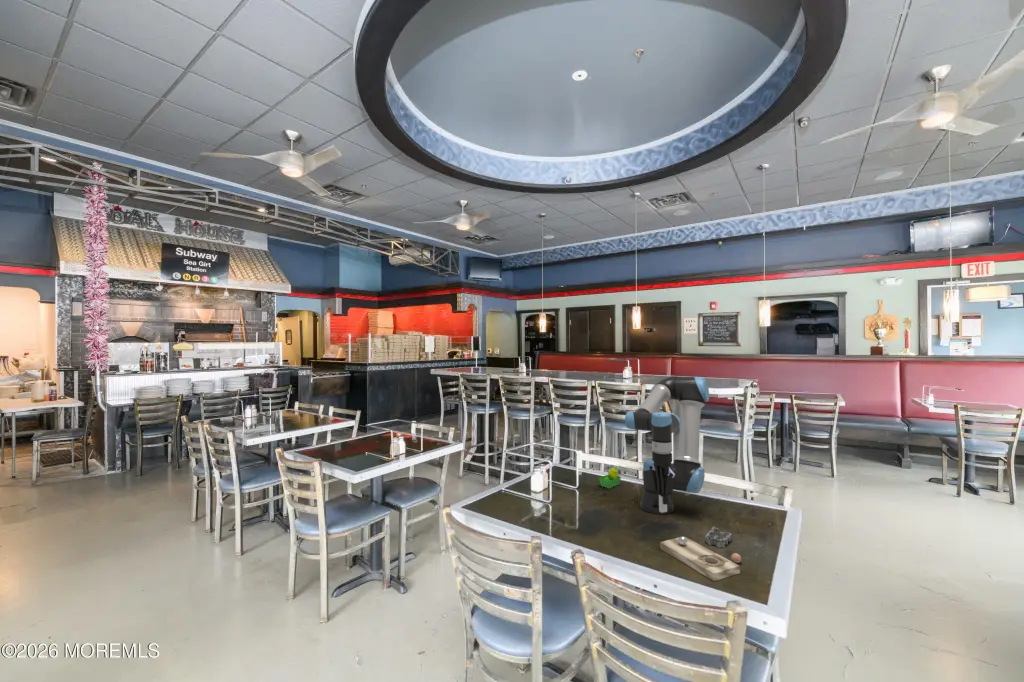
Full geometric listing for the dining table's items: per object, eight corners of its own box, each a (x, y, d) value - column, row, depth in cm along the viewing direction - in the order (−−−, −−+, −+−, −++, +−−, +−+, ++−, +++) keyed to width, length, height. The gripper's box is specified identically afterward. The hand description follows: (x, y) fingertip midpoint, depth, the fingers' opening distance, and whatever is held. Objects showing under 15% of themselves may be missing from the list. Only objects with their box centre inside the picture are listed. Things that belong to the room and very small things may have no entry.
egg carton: (714, 535, 176) (714, 525, 176) (733, 541, 170) (733, 530, 170) (702, 543, 169) (702, 532, 169) (722, 549, 163) (722, 539, 163)
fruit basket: (610, 482, 244) (610, 462, 244) (623, 486, 237) (623, 465, 237) (598, 487, 236) (597, 466, 236) (611, 491, 230) (610, 470, 230)
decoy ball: (735, 559, 155) (735, 550, 155) (743, 563, 152) (743, 554, 152) (729, 561, 154) (729, 552, 154) (737, 565, 151) (736, 556, 151)
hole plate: (684, 542, 169) (684, 536, 169) (740, 573, 146) (739, 565, 146) (660, 548, 164) (660, 542, 164) (713, 581, 141) (713, 573, 141)
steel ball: (683, 542, 164) (682, 534, 164) (689, 546, 161) (689, 537, 161) (676, 544, 162) (676, 535, 162) (682, 547, 159) (682, 539, 160)
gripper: (643, 449, 176) (644, 507, 175) (666, 456, 164) (667, 518, 163) (658, 447, 179) (659, 504, 178) (681, 454, 167) (682, 515, 166)
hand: (663, 511), depth 171 cm, fingers closed
